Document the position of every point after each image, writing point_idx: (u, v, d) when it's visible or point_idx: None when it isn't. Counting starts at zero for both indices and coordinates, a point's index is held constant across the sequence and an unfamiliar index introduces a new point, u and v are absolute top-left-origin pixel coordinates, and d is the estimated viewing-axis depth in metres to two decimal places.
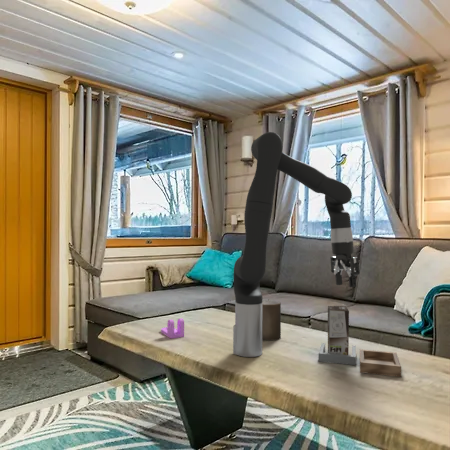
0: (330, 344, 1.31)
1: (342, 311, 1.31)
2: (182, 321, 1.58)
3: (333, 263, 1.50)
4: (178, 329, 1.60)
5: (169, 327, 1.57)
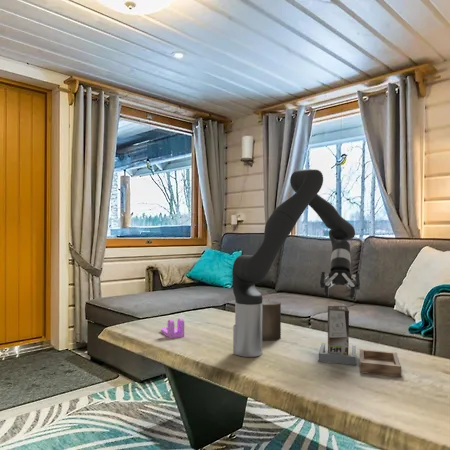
0: (330, 344, 1.31)
1: (342, 311, 1.31)
2: (182, 321, 1.58)
3: (324, 277, 1.54)
4: (178, 329, 1.60)
5: (169, 327, 1.57)
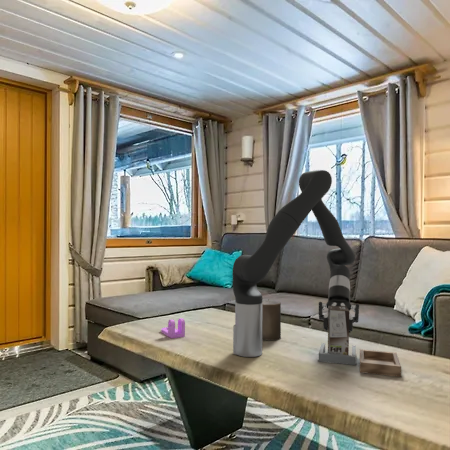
0: (330, 344, 1.31)
1: (342, 311, 1.31)
2: (183, 321, 1.58)
3: (322, 308, 1.42)
4: (179, 329, 1.60)
5: (170, 327, 1.57)
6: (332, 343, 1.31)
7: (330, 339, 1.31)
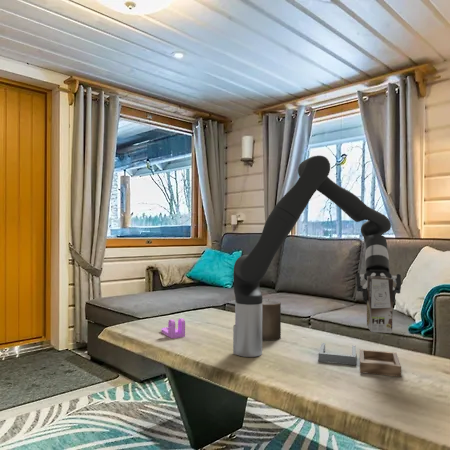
0: (372, 315, 1.21)
1: (385, 280, 1.20)
2: (183, 321, 1.58)
3: (360, 279, 1.32)
4: (179, 329, 1.60)
5: (170, 327, 1.57)
6: (374, 314, 1.21)
7: (372, 310, 1.21)
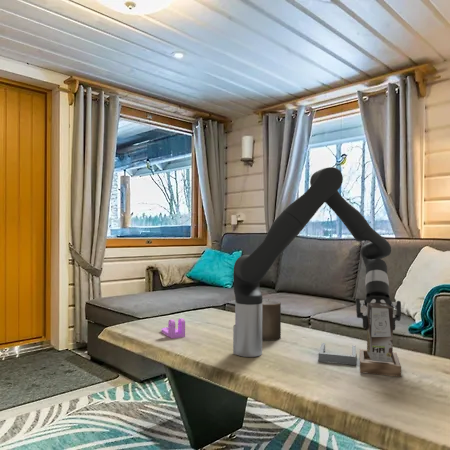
0: (372, 344, 1.21)
1: (386, 308, 1.20)
2: (183, 321, 1.58)
3: (360, 305, 1.32)
4: (179, 329, 1.60)
5: (170, 327, 1.57)
6: (374, 343, 1.21)
7: (372, 339, 1.21)
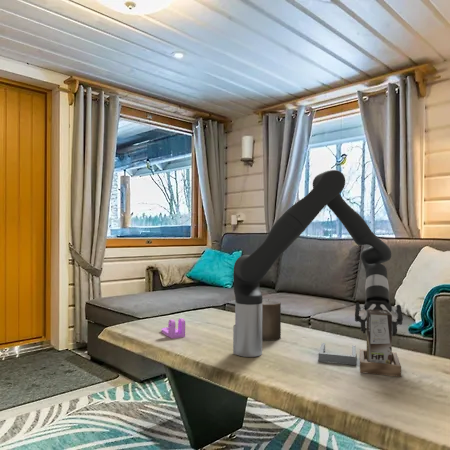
0: (371, 351, 1.21)
1: (384, 315, 1.20)
2: (183, 321, 1.58)
3: (359, 309, 1.32)
4: (179, 329, 1.59)
5: (170, 327, 1.57)
6: (373, 350, 1.21)
7: (371, 346, 1.21)
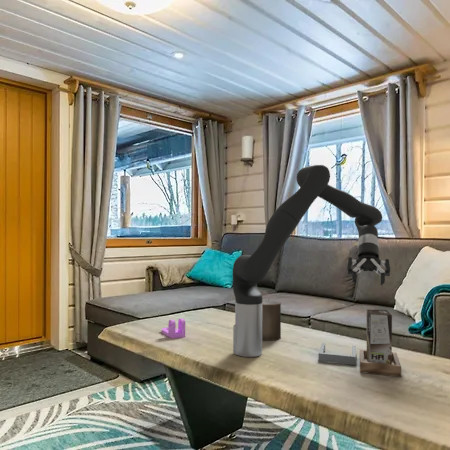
0: (371, 351, 1.21)
1: (384, 315, 1.20)
2: (183, 321, 1.58)
3: (351, 263, 1.46)
4: (179, 329, 1.59)
5: (170, 327, 1.56)
6: (373, 350, 1.21)
7: (371, 346, 1.21)
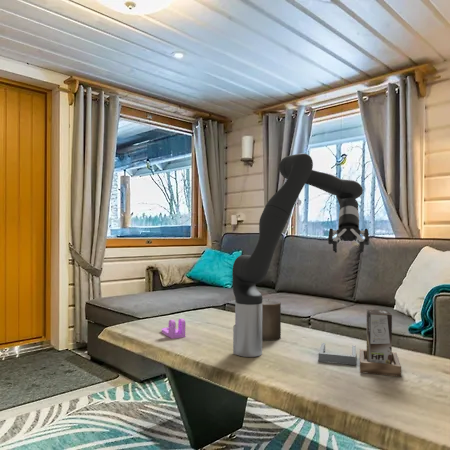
0: (371, 351, 1.21)
1: (384, 315, 1.20)
2: (183, 321, 1.58)
3: (332, 233, 1.50)
4: (179, 329, 1.59)
5: (170, 327, 1.56)
6: (373, 350, 1.21)
7: (371, 346, 1.21)
